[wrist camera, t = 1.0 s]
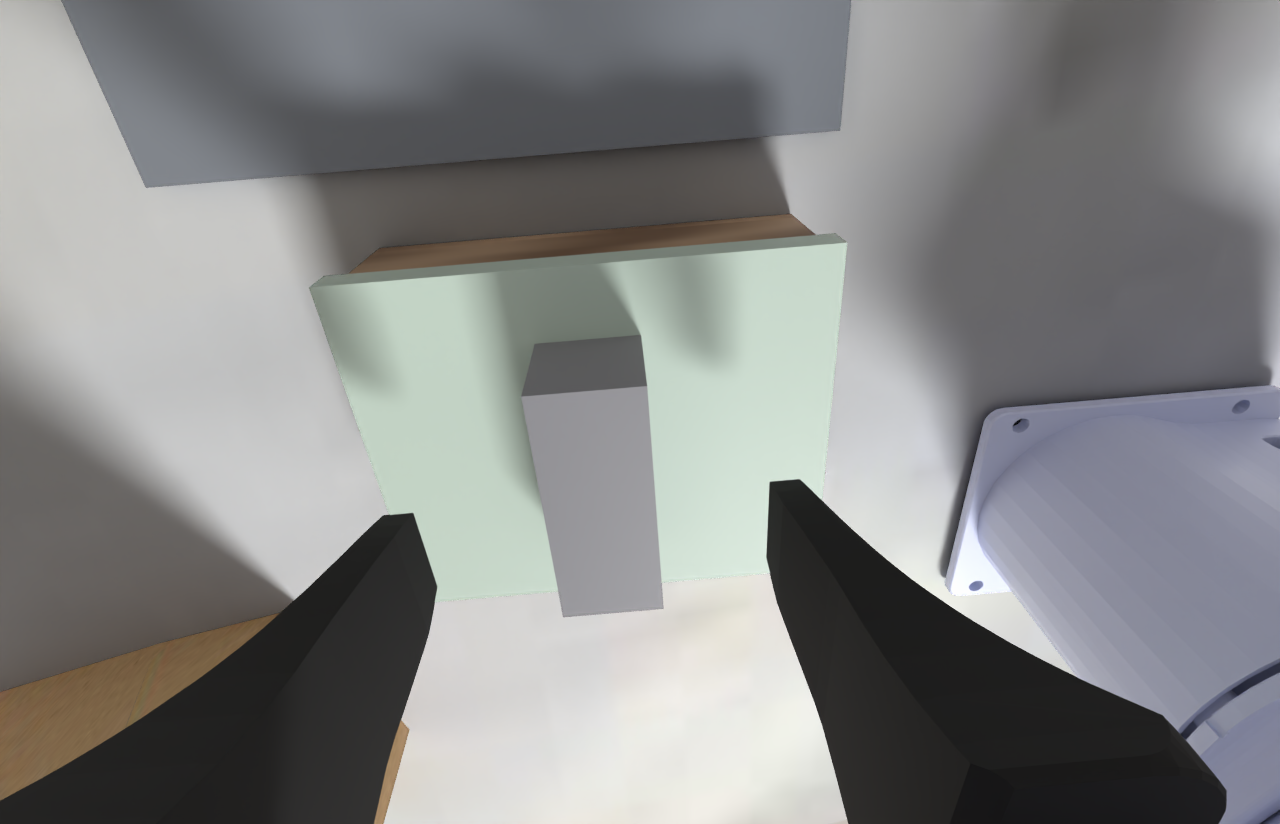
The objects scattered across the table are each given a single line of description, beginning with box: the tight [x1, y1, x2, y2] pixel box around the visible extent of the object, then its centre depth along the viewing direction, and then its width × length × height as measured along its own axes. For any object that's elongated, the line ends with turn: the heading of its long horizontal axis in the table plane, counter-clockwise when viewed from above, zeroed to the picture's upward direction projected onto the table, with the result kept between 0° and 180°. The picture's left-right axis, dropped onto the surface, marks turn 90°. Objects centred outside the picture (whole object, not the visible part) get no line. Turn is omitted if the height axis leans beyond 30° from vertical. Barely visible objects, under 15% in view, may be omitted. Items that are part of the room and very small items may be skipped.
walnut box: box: [349, 214, 815, 274], centre depth 17 cm, size 11×9×3 cm
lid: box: [309, 233, 847, 617], centre depth 15 cm, size 11×9×4 cm
